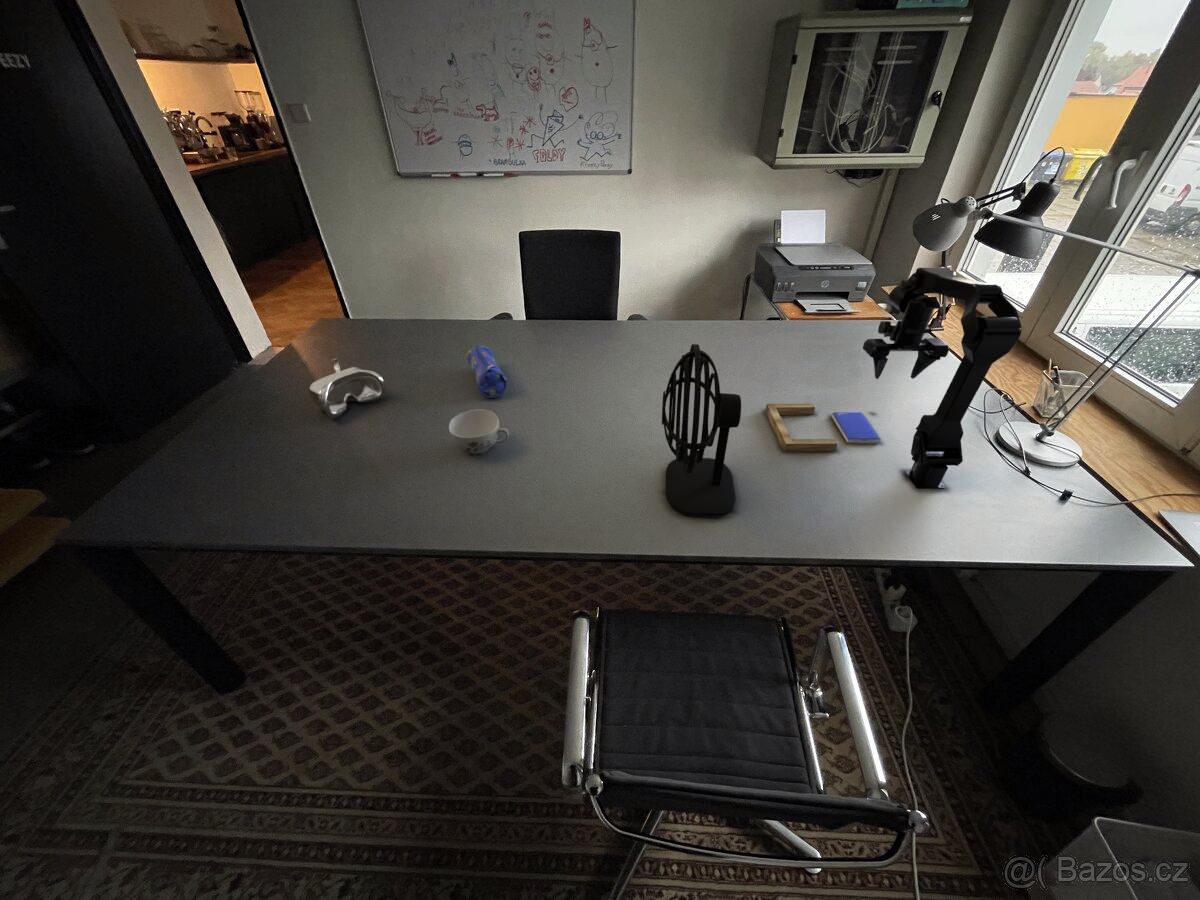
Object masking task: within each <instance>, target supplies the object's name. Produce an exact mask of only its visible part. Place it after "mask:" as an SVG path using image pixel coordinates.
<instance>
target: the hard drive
mask: <svg viewBox="0 0 1200 900" xmlns="http://www.w3.org/2000/svg"><path fill="white" fill-rule="evenodd" d="M831 418H832V420H833V421H834V423H835V424H836V426H837V428H838V429H839V431H840V433H841V434H842V436H843V437H844V440H845V441H846V443H848V444H879V443H880V442H881V438H880V436H879V435H878V434H877V432H876V431H875V429H874V428H873V426H872V424H871V423H870V422H869V421H868V419H867V417H866V416H865V414H864V413H863V412H857V411H853V412H851V411H846V412H845V411H844V412H843V411H839V412H838V411H837V412H836V411H834V412H832V414H831Z"/></svg>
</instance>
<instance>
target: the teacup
mask: <svg viewBox="0 0 1200 900" xmlns="http://www.w3.org/2000/svg"><path fill="white" fill-rule="evenodd" d="M448 431H449V433H450V435H451V437H452V439H453V441H454V442H455V443H456V444H457V445H458V446H459V447H460V448H461V449H462V450H464V451H467V452H469V453H471V454H473V455H479V454H482V453H485V452H487V451H488V450H489V449H490V448H491V447H492V446H493V445H494V444H501V443H504V442H506V441H508V439H509V437H510V434H509V430H508V429H506V428H505V427H500V419H499V417H498V415H497V414H496V413H494V412H493V411H491V410H488V409H483V408H482V409H481V408H479V409H478V408H477V409H476V408H475V409H470V410H467V411H463V412H460V413H458V414H456V415H454V416H453V417H452V418H451V419H450V422H449V424H448ZM500 433H503V434H504V435H505V437H504V438H502V439H498V436H499V435H500Z"/></svg>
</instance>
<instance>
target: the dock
mask: <svg viewBox="0 0 1200 900" xmlns="http://www.w3.org/2000/svg"><path fill="white" fill-rule="evenodd" d="M815 410H816V406H815V404H814V403H810V402H809V403H807V402H806V403H805V402H804V403H803V402H802V403H766V406H765V411H764V412H765V414H766V416H767V418H768V420H769V423H770V425H771V427H772V429H773V431H774V433H775V436H776V437H777V440H778V442H779V444H780V446H781V448H782V450H783V452H786V453H787V452H789V453H790V452H836V450H837V447H838V445H839V443H838V441H837V440H836V438H792V437H791V435H790V433H789V431H788V429H787V427H786V425H785V423H784V421H783V419H782V417H781V416H785V415H786V416H787V415H789V416H790V415H791V416H793V415H795V416H797V415H799V416H800V415H802V416H804V415H814V413H815Z"/></svg>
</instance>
